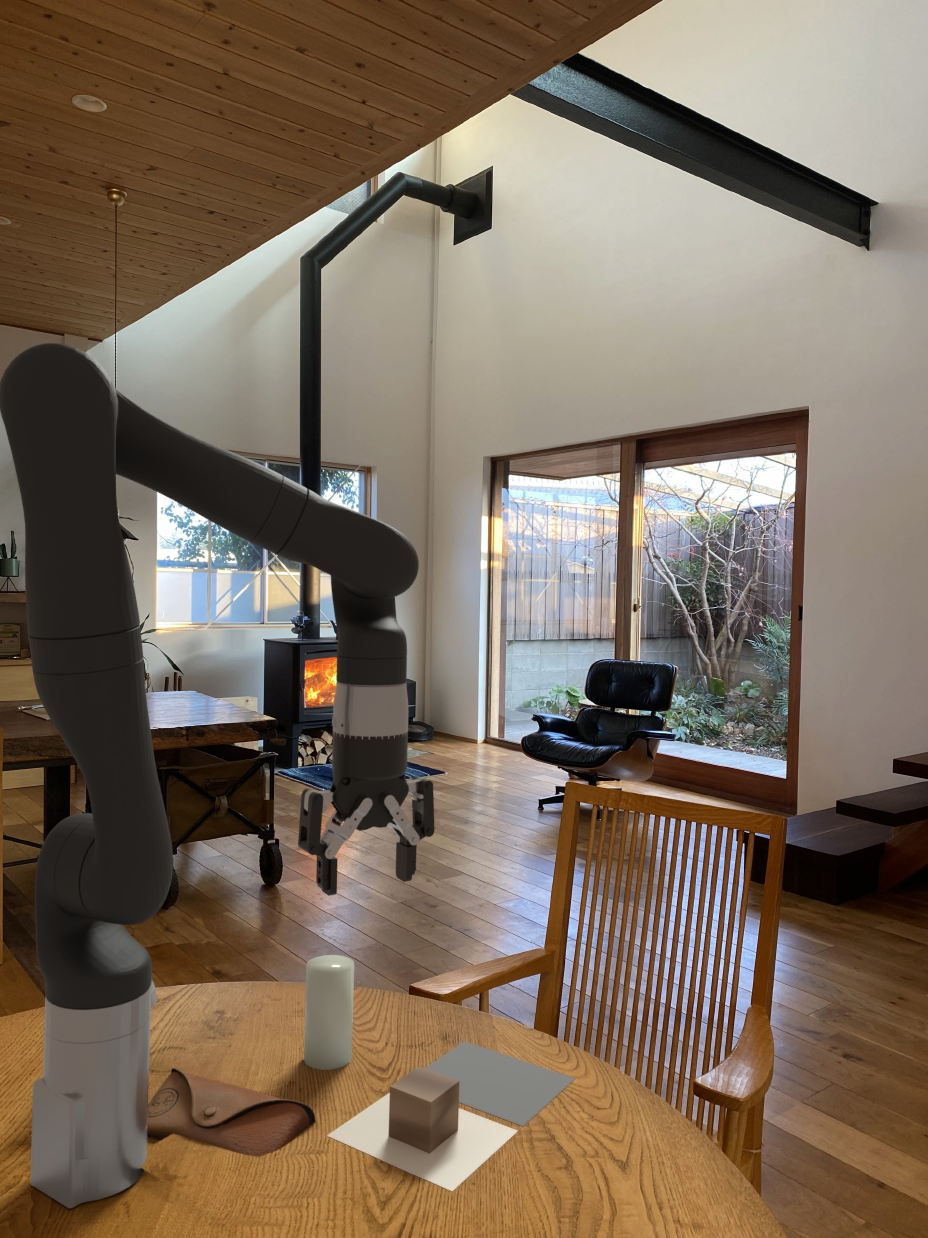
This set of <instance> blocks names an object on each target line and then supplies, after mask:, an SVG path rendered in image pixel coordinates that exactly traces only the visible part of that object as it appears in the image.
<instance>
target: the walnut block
mask: <svg viewBox="0 0 928 1238" xmlns="http://www.w3.org/2000/svg"><path fill="white" fill-rule="evenodd" d="M425 1068H426V1067H422V1066H419V1065H418V1066H417V1067H416V1068H415V1069H414V1070H413V1069H412V1071H411V1072H409V1073H407V1074H406V1075H404V1076H403V1077H402V1078H400V1079H399V1080H397V1081H396V1082H394V1083H393V1084H391V1085H389V1093H390V1102H389V1135H388V1136H389V1137H391V1138H394V1139H396V1140H398V1141H401V1142H403V1143H406V1144H408V1145H410V1146H413V1147H415V1148H417V1149H420V1150H422V1151H424V1152H427V1153H429V1154H430V1153H431V1152H432V1151H433V1150H435V1149H436V1148H437V1147H438V1146H439V1145H441V1144H442V1143H443V1142H444V1141H445V1140H447V1139H448V1138H449V1137H450V1136H451V1135H453V1134H454V1133H455V1132H456V1131H458V1115H459V1108H460V1107H459V1106H460V1104H459V1082H460V1081H458V1080H455V1079H453V1078H450V1077H447V1076H445V1075H442V1074H439V1073H436V1072H434V1071H431V1070H428V1069H425Z"/></svg>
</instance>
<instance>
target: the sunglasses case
mask: <svg viewBox="0 0 928 1238" xmlns="http://www.w3.org/2000/svg"><path fill="white" fill-rule="evenodd" d="M315 1115H316V1114H315V1112H314V1111H313V1109H312V1108H311V1107H310V1106H309V1105H308V1104H306V1103H303V1102H302V1101H298V1100H292V1099H285V1098H279V1097H277V1096H273V1095H270V1094H266V1093H264V1092H260V1091H258V1090H257V1091H256V1090H253V1089H251V1088H247V1087H243V1086H239V1085H235V1084H231V1083H227V1082H224V1081H220V1080H215V1079H212V1078H206V1077H203V1076H198V1075H196V1074H195V1075H194V1074H190V1073H188V1072H186V1071H184V1070H181V1069H178V1068H176V1067H175V1068H174V1067H173V1068H171V1071H170V1074H169V1075H168V1076H167V1078H166V1079H165V1080H164V1082H163V1083H162V1084H161V1086H160V1088H159V1089H158V1091H156V1093H155V1094H154V1096H153V1097H152V1099H151V1100H150V1101H149V1102H148V1128H147V1138H151V1139H154V1140H155V1139H156V1140H160V1141H162V1140H164V1139H167V1138H168V1137H169V1136H171V1135H173V1134H175V1135H179V1136H182V1137H184V1138H189V1139H191V1140H192V1139H193V1140H195V1141H198V1142H202V1143H205V1144H209V1145H212V1146H216V1147H220V1148H222V1149H225V1150H229V1151H232V1152H233V1153H238V1154H241V1155H244V1156H249V1157H257V1158H259V1157H263V1156H266V1155H268V1154H273V1153H274V1152H276V1151H279V1150H280V1149H283V1148H284V1147H286V1146H287V1145H288V1144H290V1143H291V1142H292V1141H293V1140H295V1139H296V1138H297V1137H298V1136H299V1135H301V1133H303V1132H304V1131H305V1130H307V1128H308V1127H309V1126H311V1125H312V1124H313V1123H317V1122H316V1116H315Z"/></svg>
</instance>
